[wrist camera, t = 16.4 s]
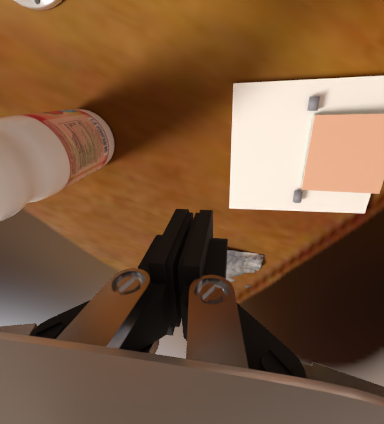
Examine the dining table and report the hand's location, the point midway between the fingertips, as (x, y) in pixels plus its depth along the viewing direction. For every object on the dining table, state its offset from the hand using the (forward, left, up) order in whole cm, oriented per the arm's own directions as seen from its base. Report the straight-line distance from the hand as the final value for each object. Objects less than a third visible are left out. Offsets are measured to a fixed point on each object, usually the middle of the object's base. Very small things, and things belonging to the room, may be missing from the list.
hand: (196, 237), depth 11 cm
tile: (+2, +16, -24) cm, 29 cm away
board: (+2, +11, -27) cm, 29 cm away
